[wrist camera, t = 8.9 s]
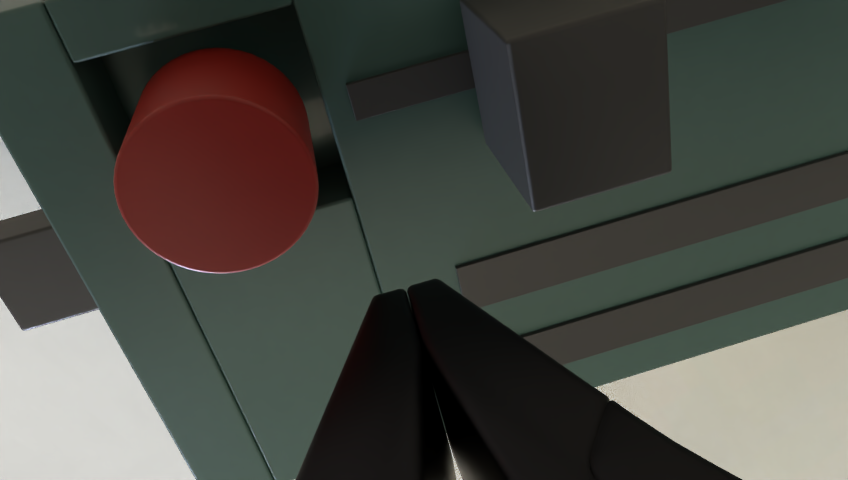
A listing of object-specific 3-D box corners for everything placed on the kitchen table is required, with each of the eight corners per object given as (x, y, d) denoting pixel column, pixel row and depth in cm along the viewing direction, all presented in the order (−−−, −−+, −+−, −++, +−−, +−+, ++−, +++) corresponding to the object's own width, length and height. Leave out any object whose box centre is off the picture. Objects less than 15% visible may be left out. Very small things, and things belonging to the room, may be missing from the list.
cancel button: (279, 26, 11) (285, 71, 9) (328, 179, 12) (341, 245, 10) (106, 73, 11) (76, 128, 9) (175, 222, 12) (161, 297, 10)
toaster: (712, -234, 18) (1044, -263, 11) (713, 130, 24) (935, 286, 16) (-27, -42, 17) (-251, 80, 10) (147, 294, 23) (93, 546, 15)
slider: (589, -40, 11) (668, -5, 9) (602, 111, 12) (674, 173, 10) (457, -5, 11) (505, 40, 9) (484, 144, 12) (532, 215, 10)
